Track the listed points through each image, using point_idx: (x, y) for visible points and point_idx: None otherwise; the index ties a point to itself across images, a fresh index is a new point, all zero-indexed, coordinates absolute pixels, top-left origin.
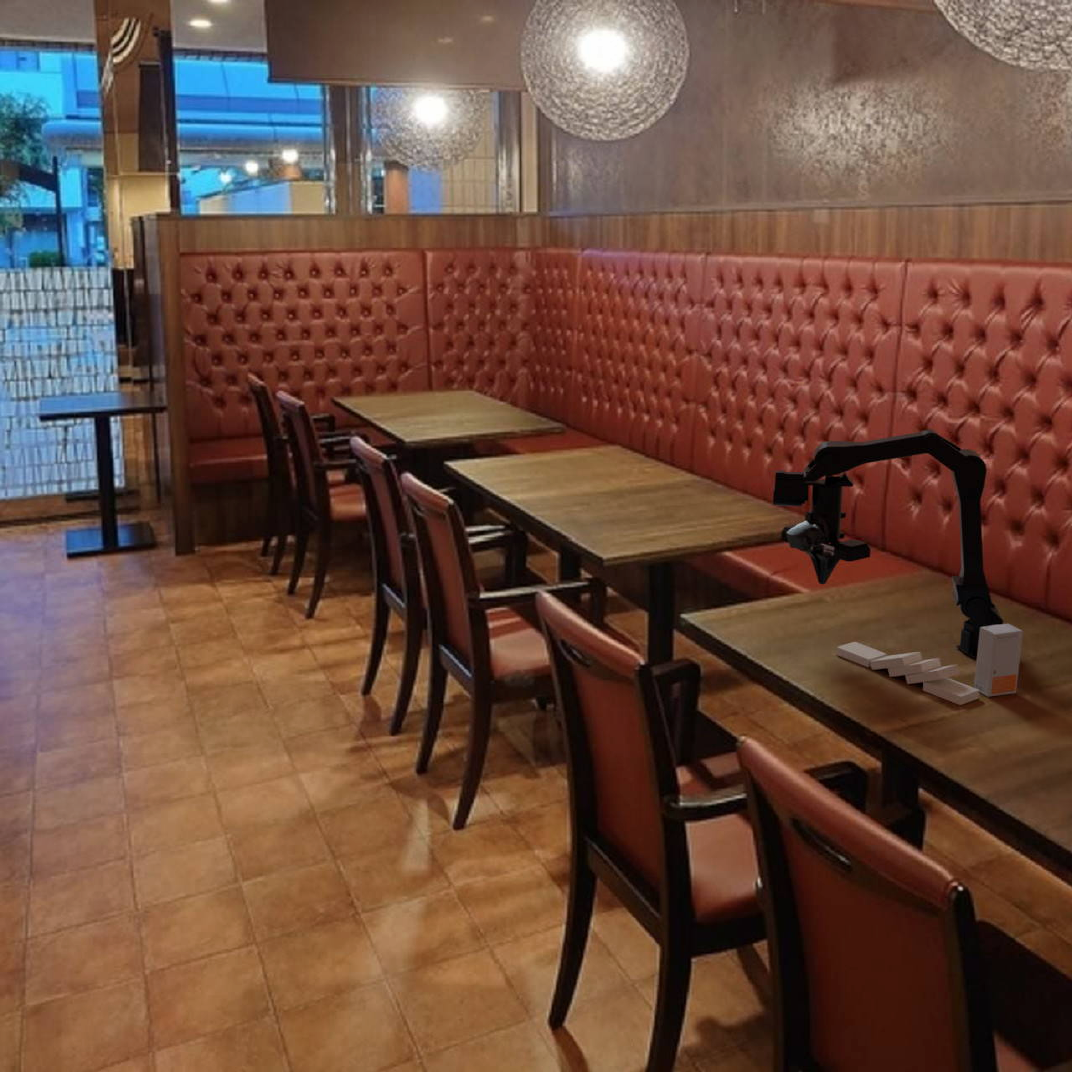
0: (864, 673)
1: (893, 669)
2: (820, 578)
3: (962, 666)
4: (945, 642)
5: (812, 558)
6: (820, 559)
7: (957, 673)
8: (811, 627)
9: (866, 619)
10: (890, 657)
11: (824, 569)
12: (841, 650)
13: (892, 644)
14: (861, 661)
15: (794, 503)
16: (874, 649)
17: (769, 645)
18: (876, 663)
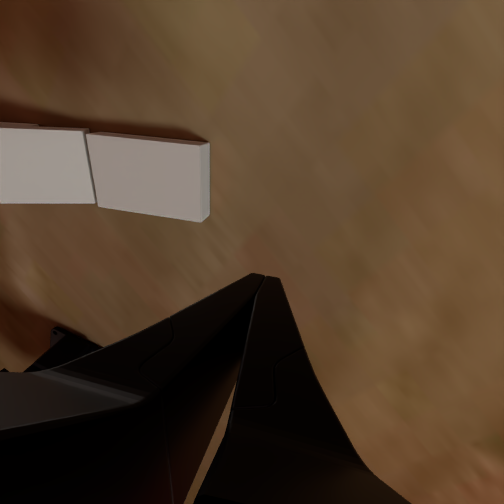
0: (77, 88)
1: (9, 124)
2: (249, 288)
3: (41, 285)
4: None
5: (309, 433)
6: (118, 400)
7: None
8: (403, 275)
9: None
10: (34, 161)
11: (157, 323)
12: (183, 143)
13: (184, 301)
14: (117, 134)
15: None
16: (133, 210)
17: (428, 14)
18: (60, 129)
